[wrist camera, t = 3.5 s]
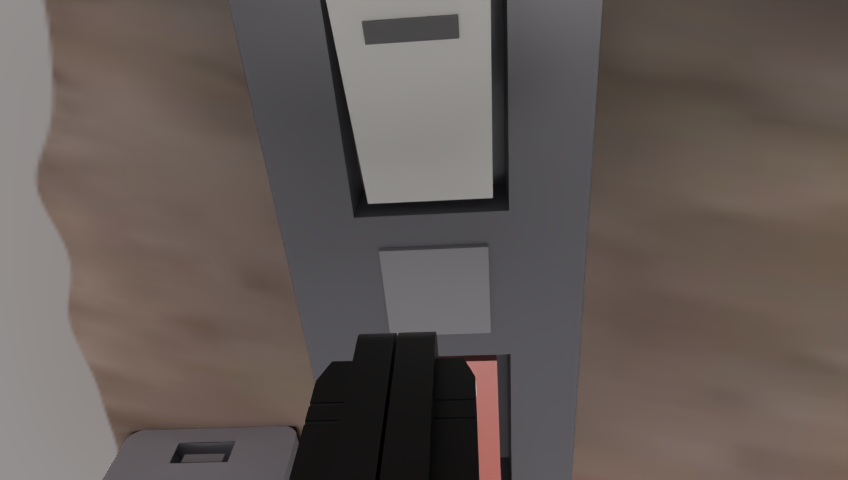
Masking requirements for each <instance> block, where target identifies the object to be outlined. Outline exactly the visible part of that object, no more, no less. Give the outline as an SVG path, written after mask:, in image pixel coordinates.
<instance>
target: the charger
mask: <svg viewBox="0 0 848 480" xmlns="http://www.w3.org/2000/svg"><path fill="white" fill-rule="evenodd" d="M231 441H235V442H231ZM194 442H220V443H194ZM179 443H183V444H179ZM298 445H299V441H298V438H297V434H296V431H295V430H294V429H293V428H291V427H289V426H268V427H235V428H203V429H171V430H143V431H139V432H136V433H134V434H132V435H130V436H129V437H128V438H127V439H126V440H125V442H124V444H123V445H122V447H121V449H120V451H119V452H118V454H117V456H116V458H115V459H114V461H113V463H112V465H111V466H110V468H109V470H108V471H107V473H106V475H105V477H104V478H103V480H289V478H290V474H291V470H292V467H293V463H294V459H295V456H296V452H297V449H298Z"/></svg>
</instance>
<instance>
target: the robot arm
mask: <svg viewBox="0 0 848 480" xmlns="http://www.w3.org/2000/svg"><path fill="white" fill-rule="evenodd" d="M289 480H480V479H479V452H478V426H477V403H476V380H475V375H474V374H473V372H472V370H471V369H470V367H469V366H468V364H467V362H466V361H465V359H464V358H439V355H438V343H437V334H436V332H404V333H399V334H398V336H397V333H375V334H359V335H358V338H357V342H356V347H355V351H354V356H353V361H332V362H331V363H330V364H329V366H328V367H327V368H326V369H325V371H324V372H323V373H322V374H321V375H320V377H319V378H318V379H317V380H316V383H315V387H314V390H313V394H312V398H311V401H310V407H309V409H308V412H307V416H306V419H305V425H304V427H303V430H302V434H301V438H300V441H299V445H298V449H297V452H296V456H295V459H294V463H293V467H292V470H291V474H290V478H289Z"/></svg>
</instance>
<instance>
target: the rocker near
mask: <svg viewBox="0 0 848 480" xmlns="http://www.w3.org/2000/svg"><path fill="white" fill-rule="evenodd" d="M326 3H327V8H328V13H329V18H330V23H331V27H332V32H333V37H334V42H335V47H336V52H337V56H338V61H339V66H340V71H341V76H342V81H343V85H344V90H345V95H346V100H347V105H348V110H349V114H350V119H351V124H352V129H353V134H354V139H355V143H356V148H357V153H358V158H359V163H360V167H361V172H362V177H363V182H364V187H365V192H366V196H367V201H368V204H378V203H399V202H420V201H441V200H462V199H483V198H493V163H492V77H491V0H326Z"/></svg>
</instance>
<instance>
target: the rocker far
mask: <svg viewBox="0 0 848 480" xmlns="http://www.w3.org/2000/svg"><path fill="white" fill-rule="evenodd" d="M439 358H464V359H465V361H466V362H467V364H468V366H469V367H470V369H471V370H472V372H473V374H474V375H475V380H476V403H477V426H478V452H479V479H480V480H501V467H500V438H499V409H498V380H497V357H496V355H467V356H439Z"/></svg>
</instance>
